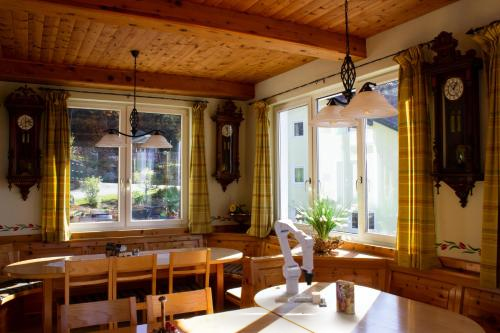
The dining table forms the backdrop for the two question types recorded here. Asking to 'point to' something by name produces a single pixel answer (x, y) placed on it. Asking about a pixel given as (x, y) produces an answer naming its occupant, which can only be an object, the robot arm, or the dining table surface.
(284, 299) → the brown square backing plate
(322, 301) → the rack
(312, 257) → the robot arm
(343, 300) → the candy box
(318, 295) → the u clip
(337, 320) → the dining table surface
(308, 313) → the dining table surface
